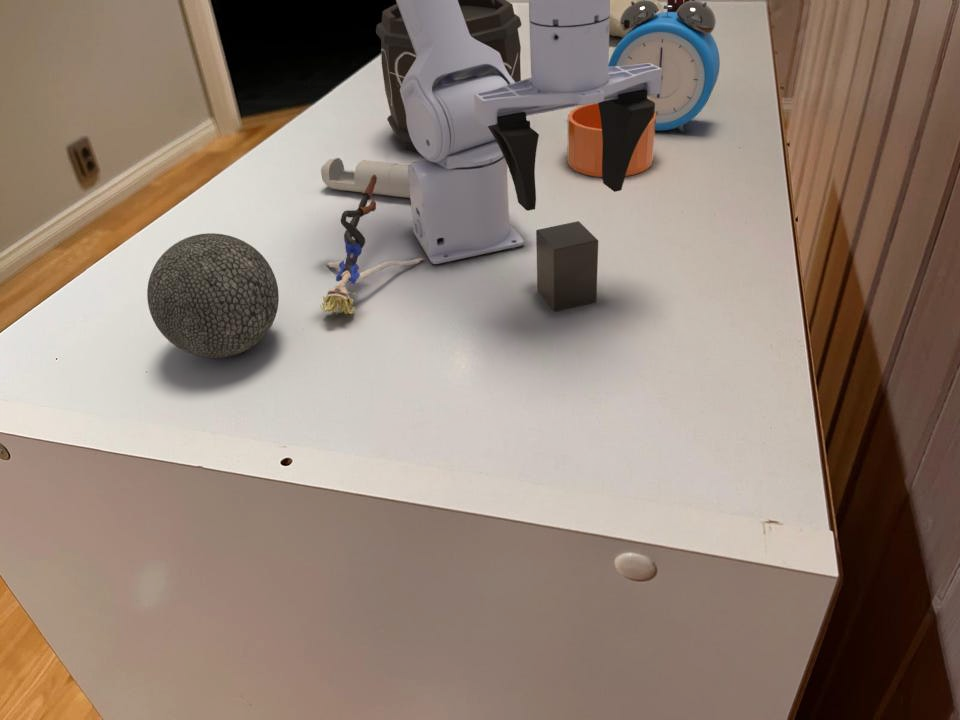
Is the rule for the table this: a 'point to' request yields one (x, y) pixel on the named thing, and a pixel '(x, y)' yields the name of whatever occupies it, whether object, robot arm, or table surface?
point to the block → (567, 265)
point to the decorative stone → (617, 7)
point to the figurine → (354, 256)
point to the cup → (589, 143)
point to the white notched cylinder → (367, 177)
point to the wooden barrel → (485, 23)
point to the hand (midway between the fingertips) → (570, 196)
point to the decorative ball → (212, 295)
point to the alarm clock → (672, 56)
